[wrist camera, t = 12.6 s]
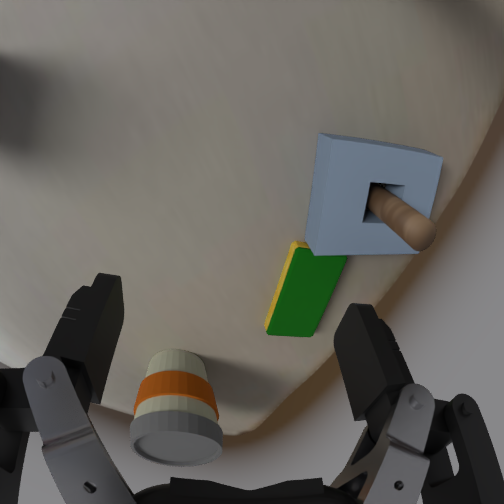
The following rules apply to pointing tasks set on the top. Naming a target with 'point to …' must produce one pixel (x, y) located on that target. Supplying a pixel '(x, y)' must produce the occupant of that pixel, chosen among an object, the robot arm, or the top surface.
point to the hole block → (365, 193)
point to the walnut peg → (401, 217)
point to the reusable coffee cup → (176, 412)
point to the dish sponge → (303, 291)
